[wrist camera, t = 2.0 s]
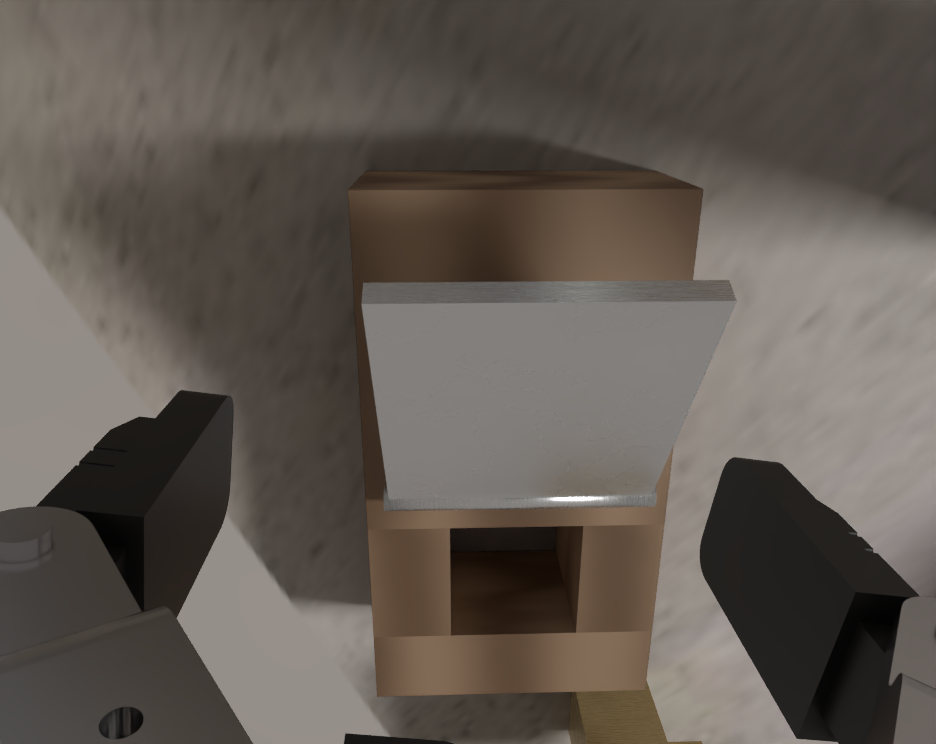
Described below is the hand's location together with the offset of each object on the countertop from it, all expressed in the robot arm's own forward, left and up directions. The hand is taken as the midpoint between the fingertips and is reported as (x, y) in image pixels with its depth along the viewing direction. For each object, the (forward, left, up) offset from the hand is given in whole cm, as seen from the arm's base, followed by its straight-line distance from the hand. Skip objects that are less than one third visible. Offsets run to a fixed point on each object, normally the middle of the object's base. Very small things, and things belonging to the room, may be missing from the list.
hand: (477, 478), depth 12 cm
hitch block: (-2, +8, -21) cm, 22 cm away
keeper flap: (-2, +4, -12) cm, 13 cm away
